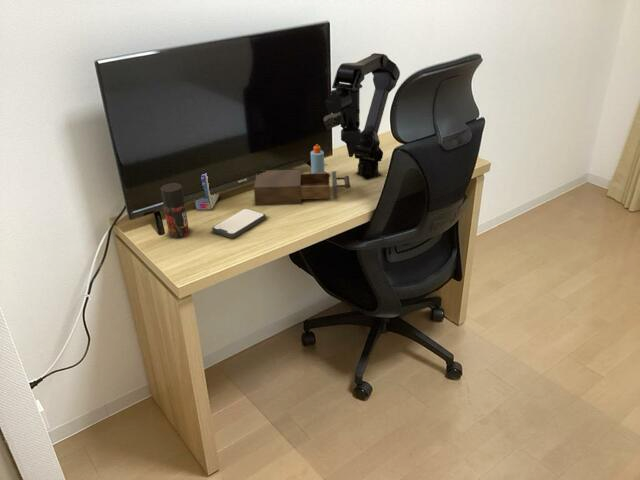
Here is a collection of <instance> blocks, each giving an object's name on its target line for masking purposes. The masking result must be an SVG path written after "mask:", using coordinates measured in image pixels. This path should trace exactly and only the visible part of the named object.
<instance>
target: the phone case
mask: <svg viewBox="0 0 640 480" xmlns="http://www.w3.org/2000/svg"><path fill="white" fill-rule="evenodd" d="M265 219H266V213H263V212H260V211H257V210H254V209H250V208H242V209H241V210H239V211H238V212H236V213H234V214H232V215H230V216H229V217H227V218H225V219H223V220H222V221H220V222H219V223H216V224H215V225H213V226H212V230H211V231H212V232H213V233H215V234H217V235H221V236H224V237H227V238H230V239H234V238H237V237H238V236H240V235H241V234H243V233H245V232H246V231H248V230H249V229H251V228H252V227H254V226H256V225H257V224H259V223H261V222H263V221H264V220H265Z"/></svg>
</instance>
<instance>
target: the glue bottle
mask: <svg viewBox="0 0 640 480" xmlns="http://www.w3.org/2000/svg"><path fill="white" fill-rule="evenodd" d="M310 173H325V152H324V150H322V149H321V146H320V145H319V144H318V143H317V144H315V145H314V146H313V150H311V151H310Z"/></svg>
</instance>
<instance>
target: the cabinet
mask: <svg viewBox="0 0 640 480" xmlns="http://www.w3.org/2000/svg"><path fill="white" fill-rule="evenodd" d="M265 171H266V172H263V173H261V174H259V175H257V174H255V180H254V184H253V192H254V202H255V206H266V205H267V206H269V205H271V206H272V205H300V204H302V199H301V173H302V169H274V170H273V169H272V170H265Z"/></svg>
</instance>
